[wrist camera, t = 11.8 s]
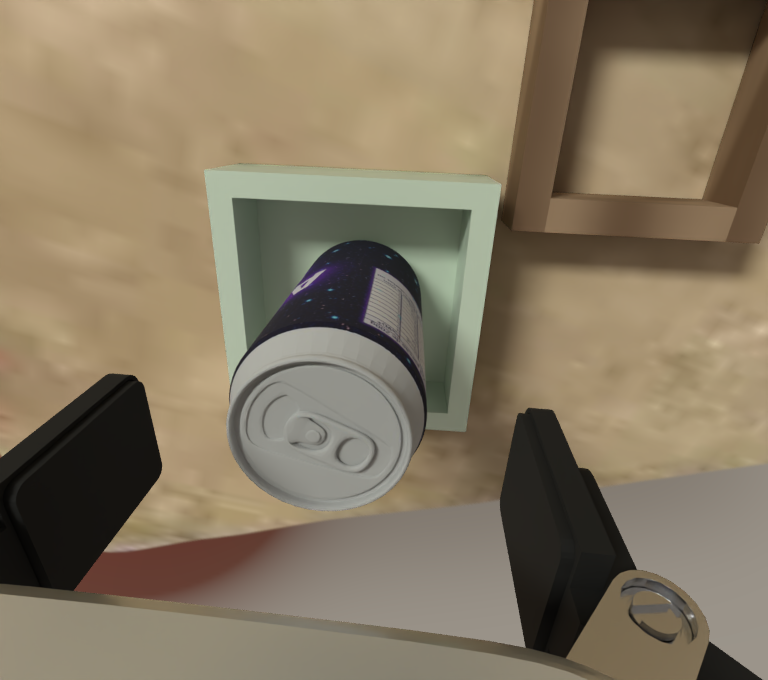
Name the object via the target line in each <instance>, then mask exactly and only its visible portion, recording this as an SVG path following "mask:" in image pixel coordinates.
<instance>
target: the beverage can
mask: <svg viewBox="0 0 768 680" xmlns="http://www.w3.org/2000/svg"><path fill="white" fill-rule="evenodd" d="M229 403H230V406H229V410H228V415H227V423H226V426H227V438H228V442H229V446H230V449H231V451H232V454H233V456H234V458H235V460H236V462H237V463H238V465H239V466H240V468H241V469H242V471H243V472H244V473H245V474H246V475H247V476H248V478H249V479H250V480H251V481H253V482H254V483H255V484H256V485H257V486H258V487H259V488H261V489H262V490H264V491H265V492H267V493H268V494H269V495H271V496H273V497H275V498H277V499H279V500H281V501H283V502H285V503H288V504H291V505H294V506H297V507H301V508H305V509H310V510H318V511H340V510H348V509H353V508H357V507H361V506H363V505H366V504H368V503H371V502H373V501H375V500H377V499H378V498H380V497H382V496H384V495H385V494H386V493H387V492H388V491H390V490H391V489H392V488H393V487H394V486H395V485H396V484H397V483H398V482H399V480H400V479H401V478H402V476H403V474H404V473H405V471H406V470H407V467H408V465H409V462H410V460H411V457H412V456H413V454H414V453H415V451H416V450H417V448H418V447H419V445H420V442H421V440H422V438H423V435H424V432H425V428H426V422H427V399H426V380H425V361H424V343H423V324H422V305H421V290H420V285H419V282H418V279H417V276H416V274H415V272H414V270H413V269H412V267H411V266H410V264H409V263H408V262H407V261H406V260H405V259H404V258H403V257H402V256H401V255H400V254H399V253H397V252H396V251H395V250H393V249H391V248H390V247H388V246H385V245H383V244H380V243H377V242H373V241H367V240H353V241H347V242H343V243H340V244H338V245H335V246H333V247H331V248H330V249H328V250H327V251H325V252H324V253H323V254H322V255H320V256H319V257H318V259H317V260H316V261H315V262H314V263H313V265H312V266H311V267H310V269H309V270H308V271H307V273H306V274H305V275H304V277H303V278H302V279H301V281H300V282H299V283H298V284H297V286H296V287H295V288H294V290H293V291H292V292H291V294H290V295H289V296H288V298H287V299H286V300H285V302H284V303H283V304H282V306H281V307H280V308H279V310H278V311H277V312H276V313H275V315H274V316H273V317H272V319H271V320H270V321H269V323H268V324H267V325H266V327H265V328H264V329H263V331H262V332H261V333H260V335H259V336H258V337H257V338H256V340H255V341H254V342H253V344H252V345H251V346H250V348H249V349H248V350H247V352H246V353H245V354H244V356H243V357H242V358H241V360H240V362H239V363H238V365H237V367H236V369H235V371H234V374H233V377H232V380H231V385H230V393H229Z"/></svg>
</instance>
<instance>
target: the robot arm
mask: <svg viewBox="0 0 768 680" xmlns="http://www.w3.org/2000/svg"><path fill="white" fill-rule="evenodd" d="M161 471H162V462H161V457H160V453H159V449H158V444H157V440H156V436H155V431H154V427H153V423H152V419H151V414H150V410H149V406H148V401H147V397H146V393H145V388H144V385H143V384H142V382H139V381H138V379H137V378H136V377H135V376H133V375H123V374H108V375H106V376H104V377H103V378H102V379H101V380H99V381H98V382H97V383H95V384H94V385H93V386H92V387H90V388H89V389H88V390H87V391H85V392H84V393H83V394H81V395H80V396H79V397H78V398H76V399H75V400H74V401H73V402H71V403H70V404H69V405H67V406H66V407H65V408H64V409H62V410H61V411H60V412H59V413H57V414H56V415H55V416H53V417H52V418H51V419H50V420H48V421H47V422H46V423H45V424H43V425H42V426H41V427H39V428H38V429H37V430H36V431H34V432H33V433H32V434H31V435H29V436H28V437H27V438H25V439H24V440H23V441H22V442H20V443H19V444H18V445H17V446H15V447H14V448H13V449H11V450H10V451H9V452H8V453H6V454H5V455H4V456H3V457H1V458H0V680H762V679H761V678H759V677H758V676H757V675H755V674H754V673H752V672H751V671H749V670H748V669H747V668H745V667H744V666H743V665H741V664H740V663H739V662H737V661H736V660H734V659H733V658H732V657H730V656H729V655H727V654H726V653H725V652H723V651H722V650H720V649H719V648H718V647H716V646H715V645H714V644H712V643H711V642H709V628H708V625H707V621H706V618H705V616H704V615H703V613H702V611H701V610H700V609H699V607H698V605H697V604H696V603H695V602H694V601H693V600H692V599H691V598H690V596H689V595H687V594H686V592H685V591H683V590H682V589H681V588H679V587H678V586H676V585H675V584H674V583H672V582H671V581H669V580H667V579H665V578H663V577H661V576H659V575H657V574H654V573H650V572H647V571H643V570H637V569H636V567H635V564H634V562H633V560H632V558H631V556H630V554H629V552H628V549H627V547H626V545H625V543H624V541H623V539H622V537H621V534H620V533H619V530H618V528H617V526H616V524H615V522H614V519H613V517H612V515H611V513H610V511H609V509H608V507H607V504H606V502H605V500H604V498H603V496H602V494H601V492H600V489H599V487H598V485H597V483H596V481H595V479H594V476H593V475H592V473H591V472H590V471H589V470H588V469H585V468H578V466H577V464H576V461H575V459H574V457H573V454H572V452H571V450H570V448H569V445H568V443H567V441H566V438H565V436H564V434H563V431H562V429H561V427H560V424H559V422H558V420H557V418H556V415H555V413H554V411H553V410H548V409H536V408H528V409H527V410H526V412H525V414H523V413H519V414H518V416H517V419H516V424H515V429H514V434H513V439H512V444H511V448H510V453H509V458H508V463H507V468H506V472H505V477H504V482H503V487H502V492H501V497H500V511H501V517H502V522H503V528H504V533H505V538H506V544H507V549H508V554H509V560H510V565H511V571H512V576H513V581H514V587H515V592H516V598H517V603H518V608H519V614H520V619H521V625H522V630H523V635H524V641H525V646H526V648H523V647H518V646H513V645H507V644H502V643H497V642H491V641H485V640H478V639H471V638H463V637H457V636H449V635H442V634H435V633H428V632H420V631H413V630H405V629H397V628H388V627H380V626H373V625H364V624H356V623H348V622H340V621H331V620H323V619H314V618H306V617H298V616H290V615H281V614H272V613H263V612H255V611H247V610H238V609H229V608H220V607H212V606H203V605H194V604H186V603H177V602H167V601H159V600H151V599H141V598H132V597H123V596H114V595H104V594H95V593H86V592H77V591H74V589H75V588H76V587H77V585H78V584H79V583H80V581H81V580H82V579H83V577H84V576H85V575H86V573H87V572H88V571H89V570H90V568H91V567H92V566H93V564H94V563H95V562H96V560H97V559H98V558H99V556H100V555H101V554H102V552H103V551H104V550H105V548H106V547H107V546H108V544H109V543H110V542H111V540H112V539H113V538H114V537H115V535H116V534H117V533H118V531H119V530H120V529H121V527H122V526H123V525H124V523H125V522H126V521H127V519H128V518H129V517H130V515H131V514H132V513H133V511H134V510H135V509H136V507H137V506H138V505H139V503H140V502H141V501H142V500H143V498H144V497H145V496H146V494H147V493H148V492H149V490H150V489H151V488H152V486H153V485H154V484H155V482H156V481H157V480H158V478H159V477H160V474H161Z"/></svg>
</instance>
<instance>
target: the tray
mask: <svg viewBox="0 0 768 680" xmlns="http://www.w3.org/2000/svg"><path fill="white" fill-rule="evenodd" d="M204 173H205V181H206V190H207V198H208V206H209V214H210V223H211V231H212V239H213V247H214V256H215V264H216V272H217V280H218V289H219V297H220V305H221V314H222V322H223V330H224V338H225V347H226V355H227V363H228V371H229V380H230V385H231V380H232V377H233V374H234V371H235V369H236V367H237V365H238V363H239V362H240V360H241V358H242V357H243V356H244V354H245V353H246V352H247V350H248V349H249V348H250V346H251V345H252V344H253V342H254V341H255V340H256V338H257V337H258V336H259V335H260V333H261V332H262V331H263V329H264V328H265V327H266V325H267V324H268V323H269V321H270V320H271V319H272V317H273V316H274V315H275V313H276V312H277V311H278V310H279V308H280V307H281V306H282V304H283V303H284V302H285V300H286V299H287V298H288V296H289V295H290V294H291V292H292V291H293V290H294V288H295V287H296V286H297V284H298V283H299V282H300V281H301V279H302V278H303V277H304V275H305V274H306V273H307V271H308V270H309V269H310V267H311V266H312V265H313V263H314V262H315V261H316V260H317V259H318V257H319V256H320V255H322V254H323V253H324V252H325V251H327V250H328V249H330V248H331V247H333V246H335V245H338V244H340V243H343V242H347V241H353V240H367V241H373V242H377V243H380V244H383V245H385V246H388V247H390V248H391V249H393V250H395V251H396V252H397V253H399V254H400V255H401V256H402V257H403V258H404V259H405V260H406V261H407V262H408V263H409V264H410V266H411V267H412V269H413V270H414V272H415V274H416V276H417V279H418V282H419V285H420V290H421V305H422V324H423V343H424V361H425V380H426V399H427V422H426V428H425V429H429V430H444V431H458V432H466V427H467V420H468V413H469V406H470V400H471V393H472V386H473V379H474V372H475V365H476V358H477V351H478V344H479V337H480V330H481V323H482V316H483V309H484V302H485V296H486V289H487V282H488V275H489V268H490V261H491V254H492V247H493V240H494V233H495V226H496V219H497V212H498V205H499V198H500V192H501V185H502V184H500V183H498V182H497V181H495V180H493V179H492V178H490V177H488V176H487V175H470V174H450V173H429V172H408V171H387V170H367V169H346V168H325V167H305V166H284V165H263V164H242V163H239V164H234V165H228V166H222V167H217V168H211V169H206V170H204Z"/></svg>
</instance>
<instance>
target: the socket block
mask: <svg viewBox="0 0 768 680" xmlns="http://www.w3.org/2000/svg"><path fill="white" fill-rule="evenodd" d="M588 1H589V0H534V4H533V10H532V17H531V24H530V31H529V37H528V44H527V51H526V58H525V64H524V71H523V78H522V84H521V91H520V98H519V105H518V111H517V118H516V125H515V131H514V138H513V145H512V152H511V158H510V165H509V172H508V178H507V185H506V192H505V199H504V205H503V212H502V219H501V220H502V221H503V222H504V223H505V224H506V225H507V226H508V227H509V228H510V229H511V230H512V231H530V232H549V233H568V234H587V235H606V236H625V237H644V238H663V239H682V240H701V241H720V242H739V243H758V244H759V243H760V240H761V238H762V235H763V233H764V230H765V228H766V225H767V223H768V1H767V4H766V7H765V10H764V13H763V16H762V19H761V22H760V25H759V28H758V31H757V34H756V37H755V40H754V43H753V46H752V49H751V52H750V55H749V58H748V61H747V64H746V68H745V71H744V74H743V77H742V80H741V83H740V86H739V89H738V92H737V95H736V98H735V101H734V104H733V107H732V110H731V113H730V116H729V119H728V122H727V125H726V128H725V131H724V134H723V137H722V141H721V144H720V147H719V150H718V153H717V156H716V159H715V162H714V165H713V168H712V171H711V174H710V177H709V180H708V183H707V186H706V189H705V192H704V195H703V198H702V200H701V199H681V198H661V197H640V196H620V195H600V194H580V193H559V192H552V190H553V185H554V179H555V174H556V169H557V164H558V158H559V153H560V148H561V143H562V137H563V132H564V127H565V122H566V116H567V111H568V106H569V101H570V95H571V90H572V85H573V80H574V74H575V69H576V64H577V59H578V54H579V48H580V43H581V38H582V33H583V27H584V22H585V17H586V12H587V6H588Z"/></svg>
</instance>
